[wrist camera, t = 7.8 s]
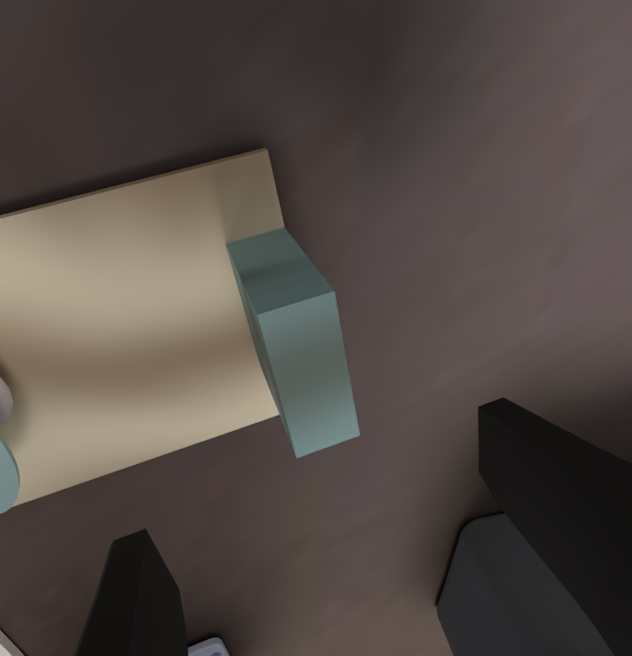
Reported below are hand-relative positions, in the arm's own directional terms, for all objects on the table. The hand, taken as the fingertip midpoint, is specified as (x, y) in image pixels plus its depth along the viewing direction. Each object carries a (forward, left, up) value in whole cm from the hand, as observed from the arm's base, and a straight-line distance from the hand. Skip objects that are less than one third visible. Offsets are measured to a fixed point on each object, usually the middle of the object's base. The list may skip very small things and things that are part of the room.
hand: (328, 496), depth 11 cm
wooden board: (0, +8, -9) cm, 12 cm away
